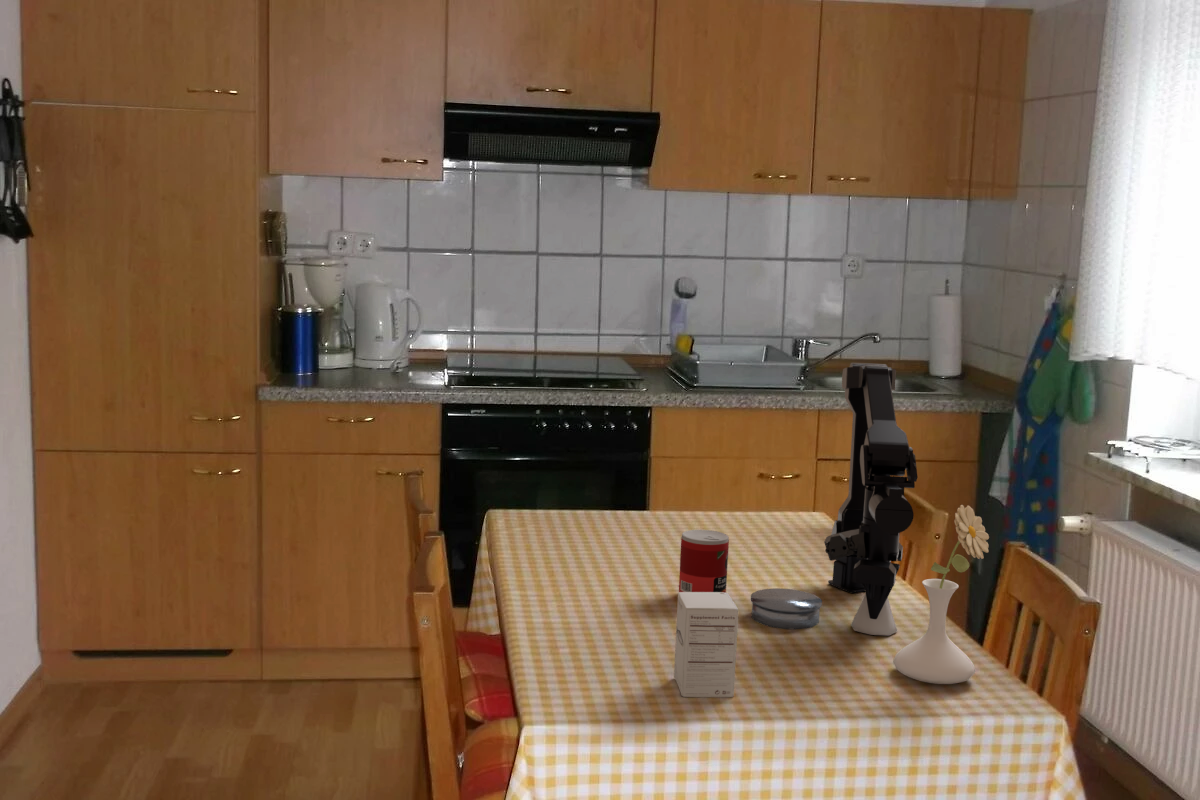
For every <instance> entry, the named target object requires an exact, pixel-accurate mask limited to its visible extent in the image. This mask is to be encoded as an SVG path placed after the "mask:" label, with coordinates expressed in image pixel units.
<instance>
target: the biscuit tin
mask: <svg viewBox="0 0 1200 800" xmlns="http://www.w3.org/2000/svg"><path fill="white" fill-rule="evenodd" d="M750 602H751V618H752V620H754V621H755V622H756V623H758V624H760V625H762V626H766V627H770V628H774V629H775V628H776V629H781V630H782V629H783V630H804V629H809V628H812V627H813V628H814V627H815V626H817V625H818V624H819V623H820V608H821V607H822V606H823V600H822V599H821V598H820V597H819V596H817V595H816V594H814V593H810V592H808V591H805V590H804V591H803V590H799V589H793V588H780V587H779V588H763V589H759V590H756V591H754V592H752V593H751V594H750Z"/></svg>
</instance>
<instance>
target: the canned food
mask: <svg viewBox="0 0 1200 800" xmlns="http://www.w3.org/2000/svg"><path fill="white" fill-rule="evenodd" d="M729 538H730V537H729V535H728V534H726V533H723V532H720V531H717V530H709V529H689V530H686V531H683V532H682V533H681V537H680V556H679V557H680V558H679V577H678V579H679V580H678V581H679V582H678V592H724V593H727V582H728V581H727V580H728V578H727V577H728V564H729V563H728V560H729V550H730V548H729V547H730V545H729V544H730V543H729V542H730V539H729Z"/></svg>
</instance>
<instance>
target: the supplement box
mask: <svg viewBox="0 0 1200 800" xmlns="http://www.w3.org/2000/svg"><path fill="white" fill-rule="evenodd" d="M676 608H677V609H676V610H677V611H676V612H677V613H676V628H675V629H676V630H675V631H676V632H675V646H674V647H675V649H674V667H673V669H674V670H673V677H674V680H675V682H676V684H677V686H678V689H679V691H680V695H681V697H683V698H733V697H734V694H735V682H736V681H735V679H736V677H735V676H736V675H735V674H736V660H737V644H738V626H739V608H738V606H737V604H736V602H734V599H733V598H732V597H731V596H730V594H729V592H726V593H724V592H679V591H678V593H677V607H676Z"/></svg>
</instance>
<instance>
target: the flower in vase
mask: <svg viewBox="0 0 1200 800" xmlns="http://www.w3.org/2000/svg"><path fill="white" fill-rule="evenodd" d="M954 516H955V519H954V521H953V522H954V525H955V531H956V534H958V535H957V539H958V540H957V542H956V544H955V545H954V547H953V549H952V552H951V554H950V557H949V560H948V562H947V563H946V564H947V565H946V567H944V566H942V565H940V564H939V563H937V562H936V561H935V562H934V563H933V564H932V566H931V568H930V571H933V572H935V573H939V574H943V575H942V578H928V579H924V580H922V581H921V584H922V585H923V587H924V588H925V590H926V593H927V596H928V601H929V602H928V603H929V622H928V626H927V630H926V632H925V633H924V634H923V635H922V636H920V637H919V638H918V639H915V640H914V641H912V642H911V643H909V644H907V645H905V646H904V647H902V648H901V649H900V650H899V651H898V652H897V653H896V654H895V655H894V658H893V660H892V663H893V665H894V667H895V669H896V670H897V671H898V672H899V673H901V674H902V675H904V676H906V677H908V678H909V679H912V680H916V681H919V682H922V683H928V684H934V685H935V684H936V685H937V684H938V685H952V684H953V685H954V684H958V683H964V682H966V681H969V680H970V679H971V678H972V677H973V676H974V675H975V673H976V668H975V665H974V663H973V662H972V660H971V659H970V658H969V657H968V655H967V654H966V653H965V652H964V651H963V650H962V649H960V647H958V646H957V645H956V644H955V643H954V642H953V641H952V640H951V639H950V638H949V636H948V634H947V632H946V631H947V630H946V629H947V628H946V619H947V613H948V607H949V604H950V600H951V598H952V596H953V594H954V593H955V592H956V590H957V589H959V584H958V583H957V582H954V581H951V580H949V579H946V576H947V574H948V573H949V572H950V571H951V569H950V566H951V565H952V566H953V568H954V569H955V570H956V571H957V572H958V573H965V572H966V571H967V570H968V569H969V567H970V563H969V561H968V559H967V558H966V557H964V556H963V555H961V554H957V553H956V550H957V549H958V547H959V545H960V544H961V547H962V548H963V549H964V550H965V552H966V554H967V555H969V556H970V555H971V556H972V557H973V558H974V559H976V558H977V559H979V560H982V559H984V553H987V554H988V553H989V543H988V541H987V540H989V538H990V536H989V535H990V534H988V533H987V532H986V528H985V526H984V525H983V524H982V523H983V520H982V517H981V516H977V515H975V510H974V508H972V507H971V506H970V505H966V507H965V505H963V504H961V505H959V507H958V508H957V511H956V512H955V513H954ZM983 552H984V553H983ZM955 553H956V554H955ZM980 558H981V559H980Z"/></svg>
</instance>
